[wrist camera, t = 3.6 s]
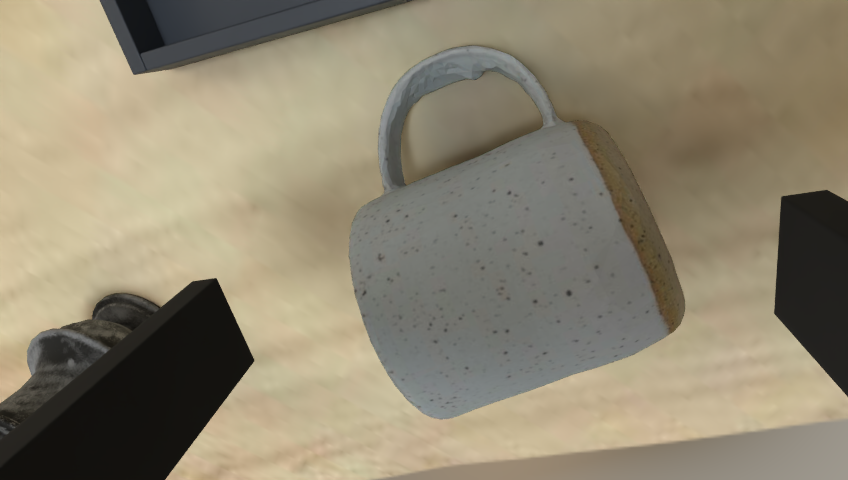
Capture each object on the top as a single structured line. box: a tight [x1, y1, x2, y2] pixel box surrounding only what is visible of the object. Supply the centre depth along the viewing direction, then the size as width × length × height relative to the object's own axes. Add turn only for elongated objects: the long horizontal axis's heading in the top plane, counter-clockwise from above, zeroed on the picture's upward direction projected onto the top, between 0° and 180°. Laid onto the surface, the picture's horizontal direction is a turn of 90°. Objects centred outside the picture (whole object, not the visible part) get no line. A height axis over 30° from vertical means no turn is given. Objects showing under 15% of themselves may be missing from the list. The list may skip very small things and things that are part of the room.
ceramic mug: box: [349, 46, 685, 419], centre depth 15 cm, size 11×8×8 cm
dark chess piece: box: [0, 294, 160, 440], centre depth 20 cm, size 6×6×12 cm
